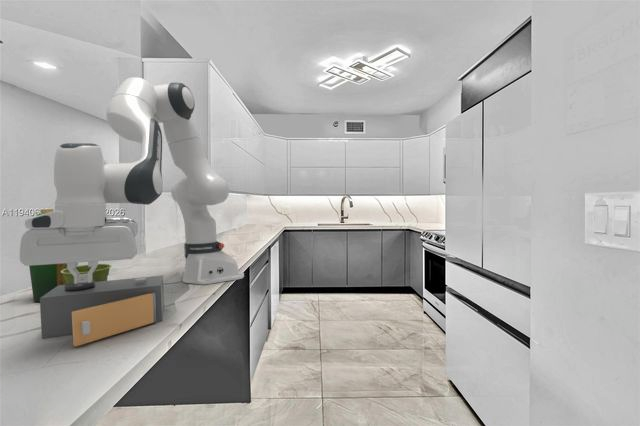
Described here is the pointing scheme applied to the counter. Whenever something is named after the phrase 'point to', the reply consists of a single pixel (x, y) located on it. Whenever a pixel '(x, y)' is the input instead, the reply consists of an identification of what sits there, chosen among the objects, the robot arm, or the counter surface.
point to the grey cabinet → (93, 300)
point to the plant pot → (97, 275)
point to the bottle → (46, 275)
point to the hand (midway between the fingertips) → (83, 282)
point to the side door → (112, 318)
